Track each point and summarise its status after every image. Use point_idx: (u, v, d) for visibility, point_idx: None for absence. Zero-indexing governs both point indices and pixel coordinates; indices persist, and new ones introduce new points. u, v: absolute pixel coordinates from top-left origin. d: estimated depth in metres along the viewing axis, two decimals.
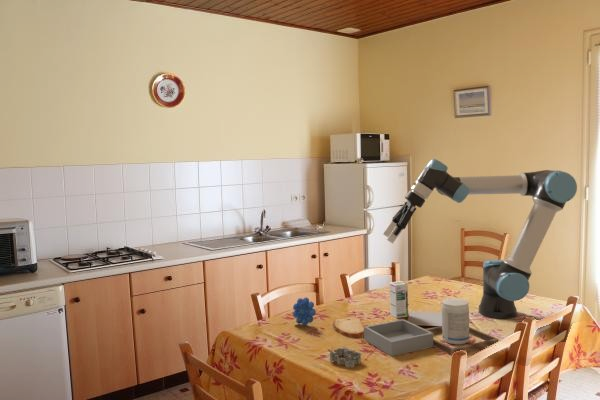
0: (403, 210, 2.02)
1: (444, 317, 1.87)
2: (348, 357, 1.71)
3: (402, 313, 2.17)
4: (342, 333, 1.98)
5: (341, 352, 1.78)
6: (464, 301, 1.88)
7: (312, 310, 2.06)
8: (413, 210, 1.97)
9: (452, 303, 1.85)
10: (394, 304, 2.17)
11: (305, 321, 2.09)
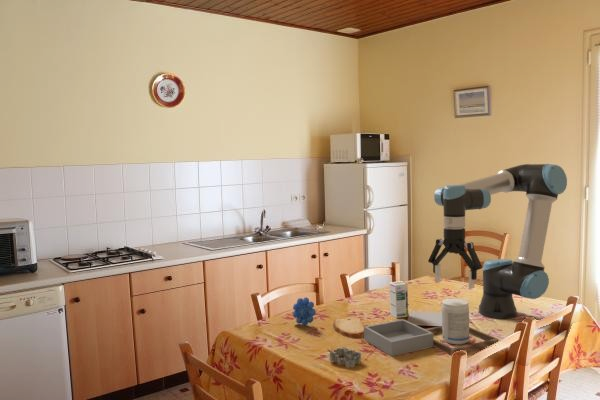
0: (458, 251, 1.83)
1: (444, 317, 1.87)
2: (348, 357, 1.71)
3: (402, 313, 2.17)
4: (342, 333, 1.99)
5: (341, 352, 1.78)
6: (464, 301, 1.88)
7: (312, 310, 2.06)
8: (472, 246, 1.82)
9: (452, 303, 1.85)
10: (394, 304, 2.17)
11: (305, 321, 2.09)
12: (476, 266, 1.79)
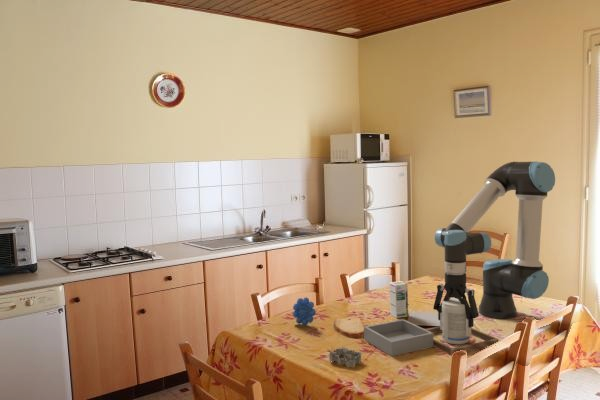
0: (458, 297, 1.85)
1: (444, 317, 1.87)
2: (348, 357, 1.71)
3: (402, 313, 2.17)
4: (342, 333, 1.99)
5: (340, 352, 1.78)
6: None
7: (312, 310, 2.06)
8: (473, 293, 1.83)
9: (452, 303, 1.85)
10: (394, 304, 2.17)
11: (305, 321, 2.09)
12: (473, 314, 1.82)
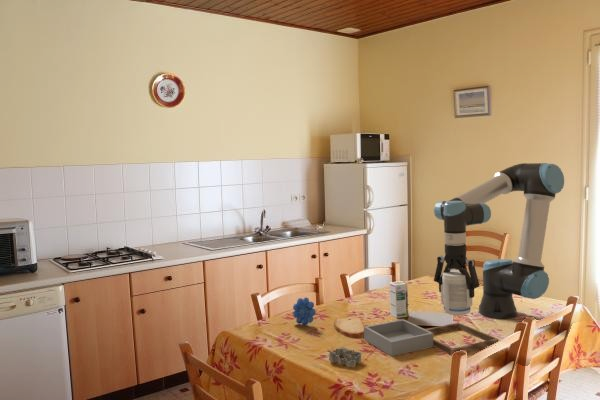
0: (459, 268, 1.84)
1: (445, 288, 1.86)
2: (349, 357, 1.71)
3: (402, 313, 2.17)
4: (342, 333, 1.99)
5: (339, 352, 1.78)
6: None
7: (312, 310, 2.06)
8: (474, 264, 1.82)
9: (453, 275, 1.85)
10: (394, 304, 2.17)
11: (305, 321, 2.09)
12: (474, 284, 1.81)
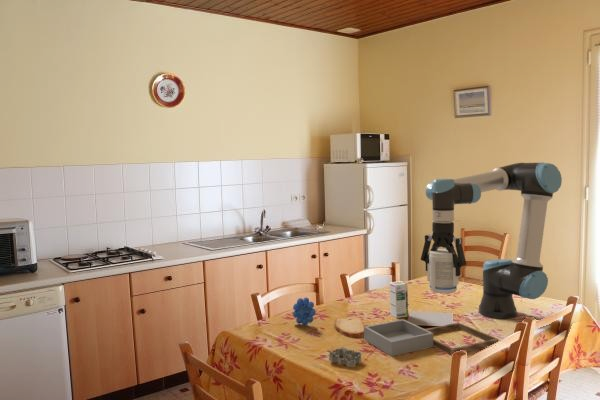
0: (446, 246, 1.83)
1: (431, 266, 1.85)
2: (349, 357, 1.71)
3: (402, 313, 2.17)
4: (342, 333, 1.99)
5: (339, 352, 1.78)
6: None
7: (312, 310, 2.06)
8: (461, 242, 1.81)
9: (440, 252, 1.83)
10: (394, 304, 2.17)
11: (305, 321, 2.09)
12: (460, 262, 1.80)
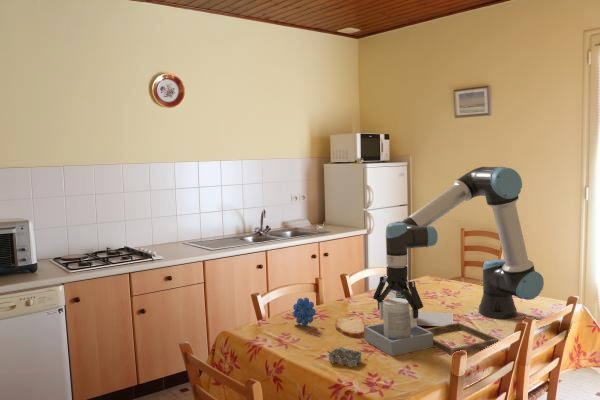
0: (400, 290, 1.83)
1: (385, 317, 1.86)
2: (349, 357, 1.71)
3: None
4: (343, 333, 1.99)
5: (338, 352, 1.78)
6: (405, 301, 1.87)
7: (312, 310, 2.06)
8: (414, 284, 1.82)
9: (393, 303, 1.85)
10: None
11: (305, 321, 2.09)
12: (417, 305, 1.79)
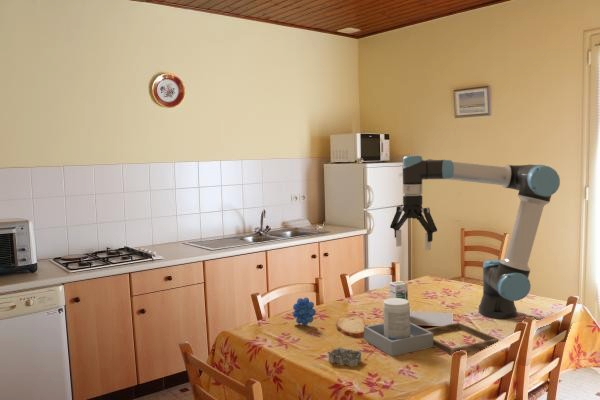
0: (416, 216, 2.00)
1: (385, 317, 1.86)
2: (349, 356, 1.72)
3: None
4: (343, 332, 1.99)
5: (336, 353, 1.78)
6: (405, 301, 1.87)
7: (312, 310, 2.06)
8: (429, 211, 1.98)
9: (393, 303, 1.85)
10: None
11: (305, 321, 2.09)
12: (431, 229, 1.96)
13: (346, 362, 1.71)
